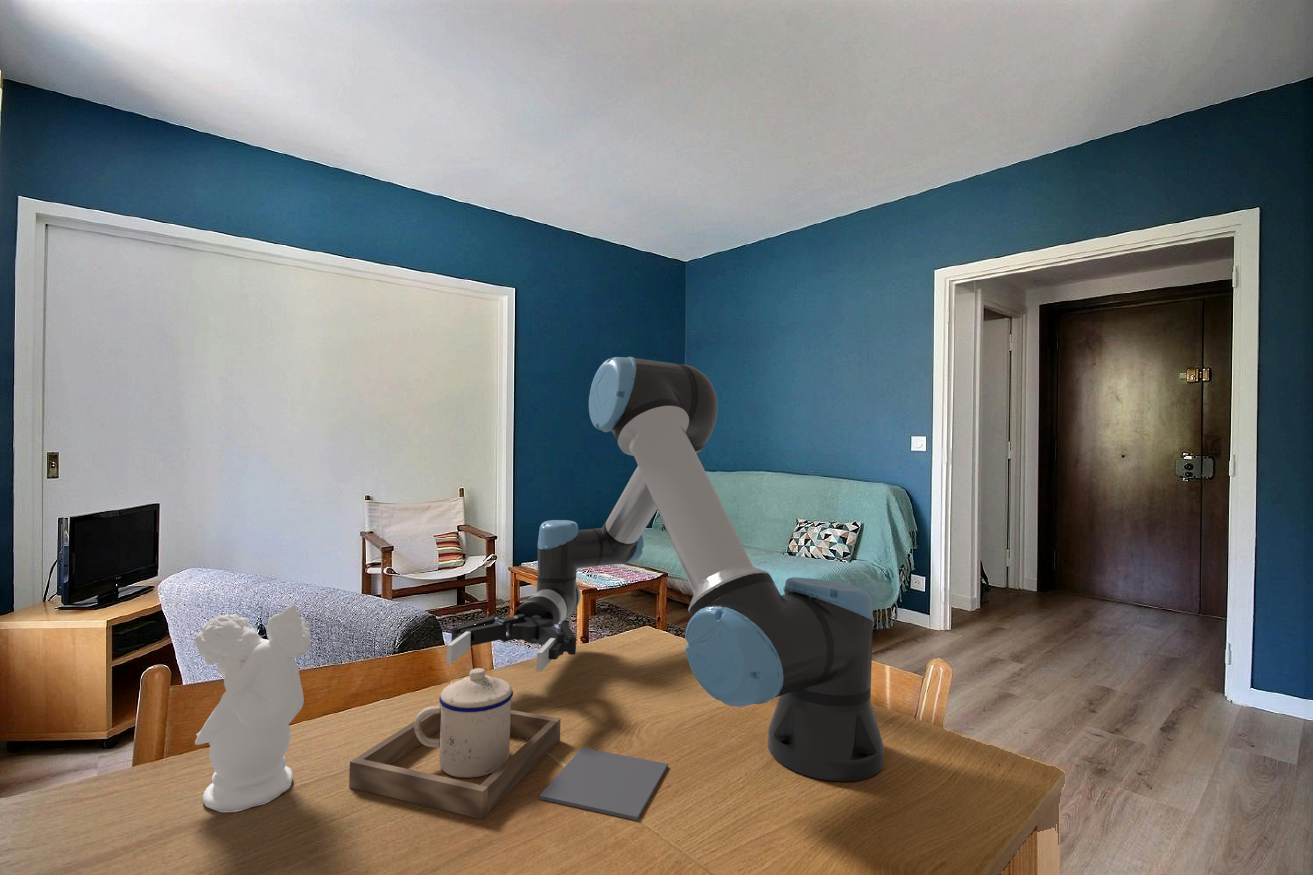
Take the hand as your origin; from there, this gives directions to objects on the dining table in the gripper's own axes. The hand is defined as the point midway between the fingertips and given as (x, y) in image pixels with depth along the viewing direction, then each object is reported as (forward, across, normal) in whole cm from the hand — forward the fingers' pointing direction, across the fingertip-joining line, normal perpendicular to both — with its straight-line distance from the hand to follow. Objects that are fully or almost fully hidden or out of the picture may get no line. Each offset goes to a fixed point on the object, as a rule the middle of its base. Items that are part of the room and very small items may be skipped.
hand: (493, 658), depth 89 cm
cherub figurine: (+18, +20, -10) cm, 29 cm away
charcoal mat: (+11, -19, -10) cm, 24 cm away
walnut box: (+10, 0, -10) cm, 14 cm away
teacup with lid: (+10, 0, -10) cm, 14 cm away
